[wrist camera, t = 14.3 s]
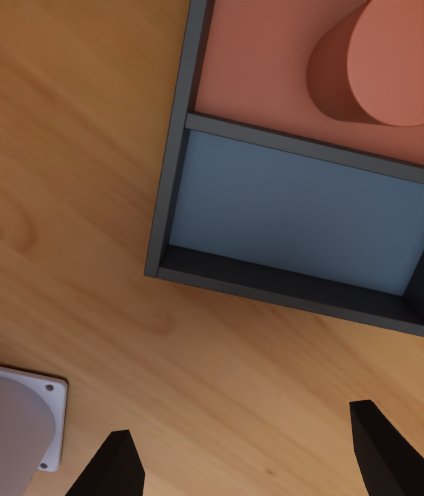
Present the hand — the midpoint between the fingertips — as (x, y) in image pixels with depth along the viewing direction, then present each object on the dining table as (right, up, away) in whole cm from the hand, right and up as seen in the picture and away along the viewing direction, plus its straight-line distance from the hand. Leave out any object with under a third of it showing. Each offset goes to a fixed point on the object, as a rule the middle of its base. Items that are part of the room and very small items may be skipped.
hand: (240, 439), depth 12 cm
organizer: (+4, +11, +6) cm, 13 cm away
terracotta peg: (+5, +14, +4) cm, 15 cm away
